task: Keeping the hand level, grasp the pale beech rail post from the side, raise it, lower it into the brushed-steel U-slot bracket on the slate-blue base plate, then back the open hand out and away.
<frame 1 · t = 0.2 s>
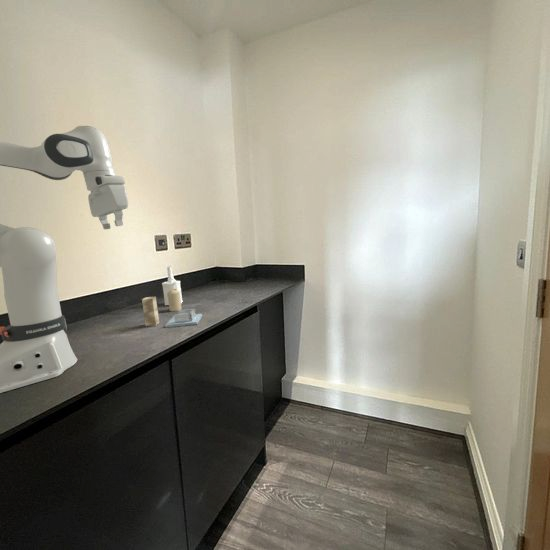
hand: (113, 227, 94), 38 cm above the worktop, tool pointing down, fingers open, 8 cm apart
candle: (175, 310, 139), on the worktop
white tall bottle shape: (174, 304, 153), on the worktop
slot bracket: (185, 315, 118), on the base plate, point 2 cm above the worktop
beech post: (152, 324, 117), on the worktop
base plate: (184, 321, 118), on the worktop
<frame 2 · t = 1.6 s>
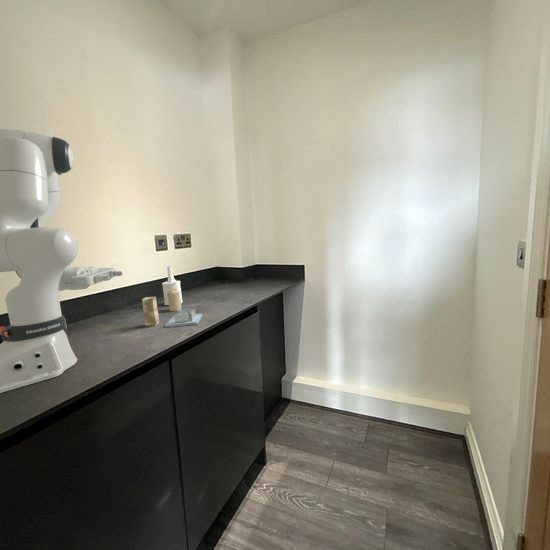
hand: (115, 275, 114), 21 cm above the worktop, tool horizontal, fingers open, 8 cm apart
nothing on the worktop moved.
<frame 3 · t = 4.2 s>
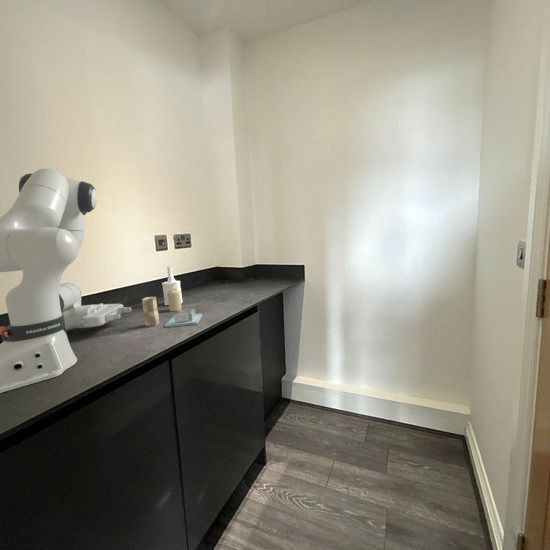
hand: (125, 312, 116), 6 cm above the worktop, tool horizontal, fingers open, 8 cm apart
nothing on the worktop moved.
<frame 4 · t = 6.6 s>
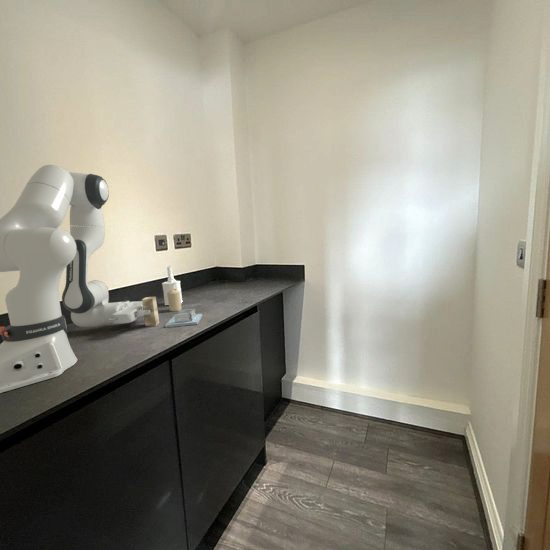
hand: (152, 309, 117), 6 cm above the worktop, tool horizontal, fingers closed on beech post, 4 cm apart
beech post: (152, 324, 117), on the worktop, touching gripper
everything else where it was.
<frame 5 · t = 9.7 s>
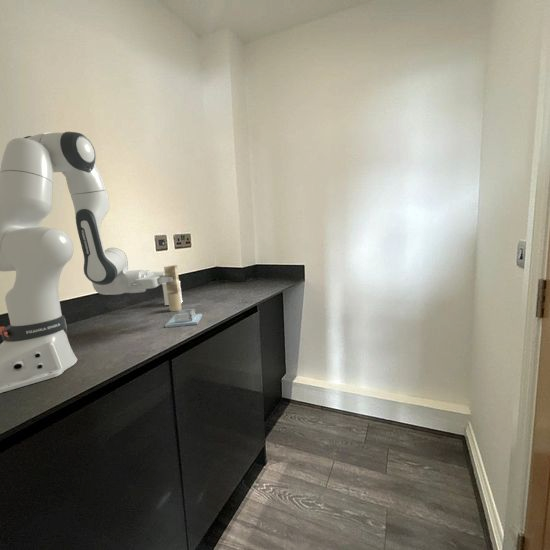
hand: (174, 278, 116), 18 cm above the worktop, tool horizontal, fingers closed on beech post, 4 cm apart
beech post: (174, 293, 117), point 12 cm above the worktop, touching gripper
everything else where it was.
when the fingers open (8 cm above the worktop, at t = 12.7 s): beech post drops 1 cm, resting on base plate.
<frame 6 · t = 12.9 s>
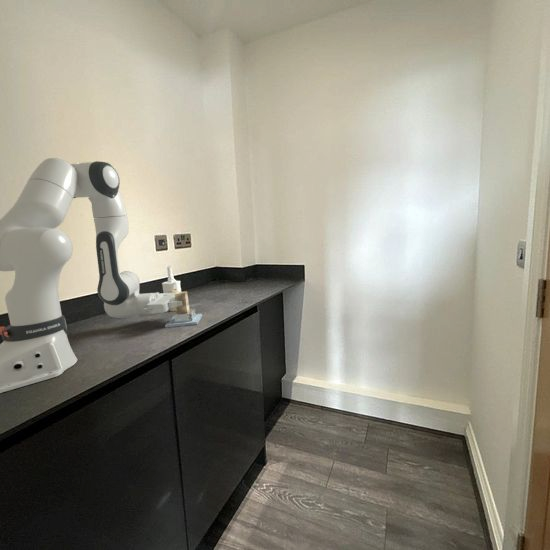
hand: (184, 300, 117), 8 cm above the worktop, tool horizontal, fingers open, 6 cm apart
beech post: (184, 319, 118), point 1 cm above the worktop, touching base plate
everything else where it was.
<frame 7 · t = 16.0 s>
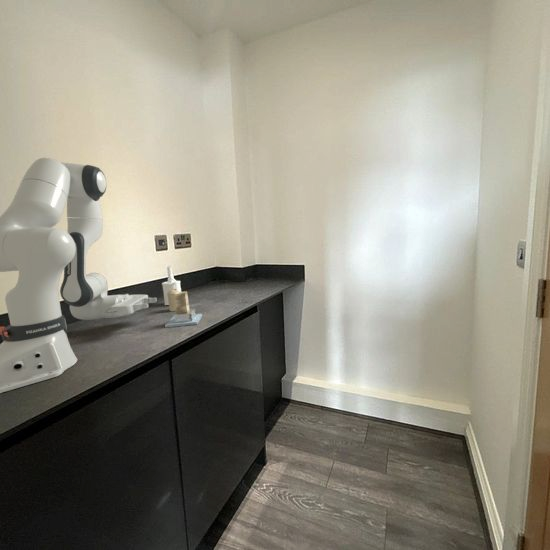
hand: (152, 302, 116), 9 cm above the worktop, tool horizontal, fingers open, 8 cm apart
nothing on the worktop moved.
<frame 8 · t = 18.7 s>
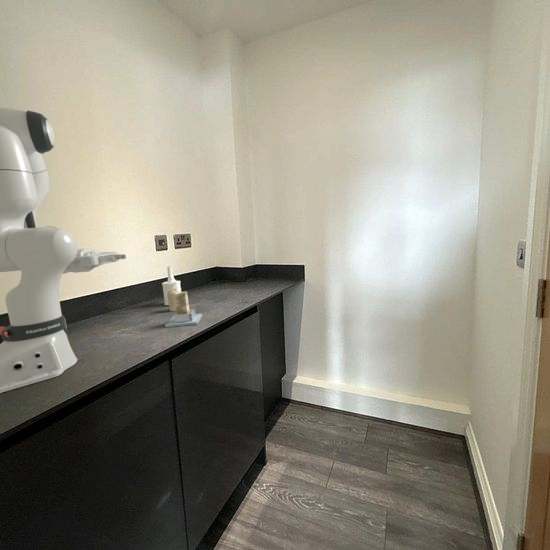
hand: (120, 257, 112), 28 cm above the worktop, tool horizontal, fingers open, 8 cm apart
nothing on the worktop moved.
at the end: beech post 0.1 cm off-centre on the slot bracket, point 1.0 cm above the slot bracket's base; beech post tilted 0°; the gripper is holding nothing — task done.
